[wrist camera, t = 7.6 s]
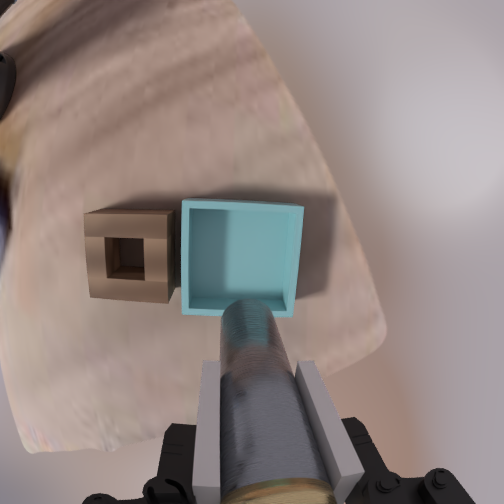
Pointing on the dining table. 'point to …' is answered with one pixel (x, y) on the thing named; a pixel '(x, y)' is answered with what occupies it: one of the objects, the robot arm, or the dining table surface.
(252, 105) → the dining table surface
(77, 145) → the dining table surface
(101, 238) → the block
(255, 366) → the steel pin
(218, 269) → the pin tray
